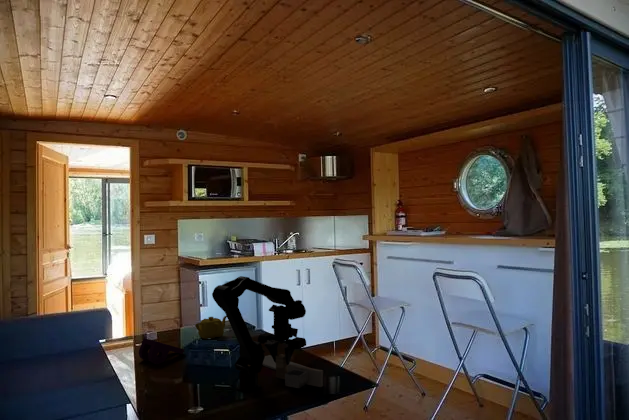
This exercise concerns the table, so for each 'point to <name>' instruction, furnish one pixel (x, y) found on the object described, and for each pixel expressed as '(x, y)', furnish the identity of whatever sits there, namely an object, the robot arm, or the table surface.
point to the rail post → (281, 366)
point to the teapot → (211, 327)
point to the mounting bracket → (156, 351)
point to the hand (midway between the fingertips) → (281, 363)
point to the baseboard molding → (271, 364)
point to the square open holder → (296, 378)
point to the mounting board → (310, 375)
